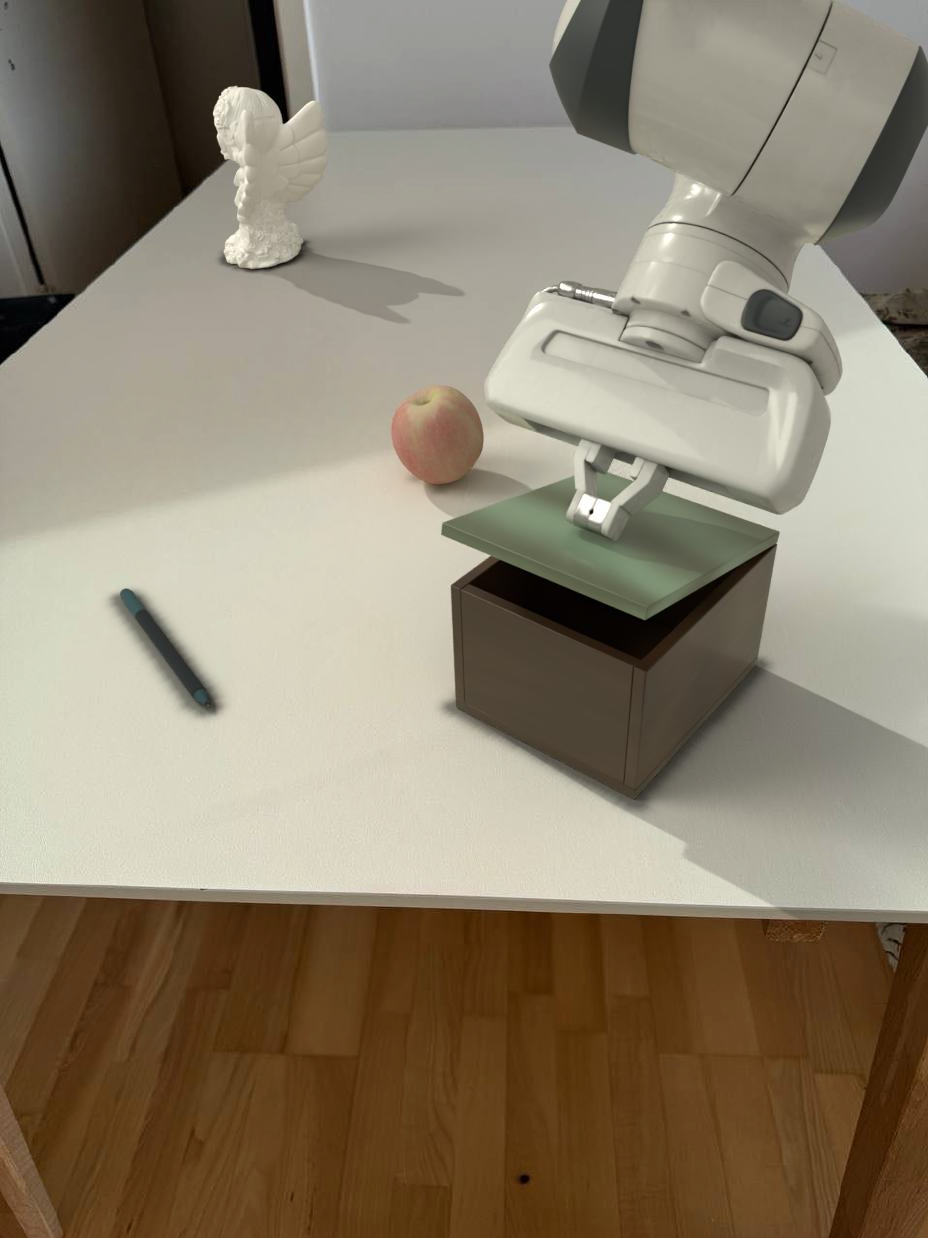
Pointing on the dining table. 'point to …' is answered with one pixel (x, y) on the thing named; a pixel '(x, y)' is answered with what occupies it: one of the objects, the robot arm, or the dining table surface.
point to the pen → (165, 647)
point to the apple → (437, 434)
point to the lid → (614, 544)
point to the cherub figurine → (268, 171)
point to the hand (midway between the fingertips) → (590, 530)
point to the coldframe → (602, 665)
